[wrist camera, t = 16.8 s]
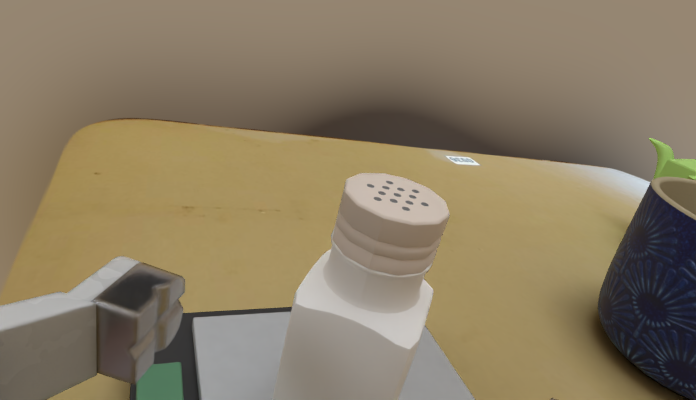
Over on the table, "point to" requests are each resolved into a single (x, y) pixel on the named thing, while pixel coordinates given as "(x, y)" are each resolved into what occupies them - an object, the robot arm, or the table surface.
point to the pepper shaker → (364, 295)
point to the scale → (262, 361)
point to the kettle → (672, 163)
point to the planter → (657, 287)
